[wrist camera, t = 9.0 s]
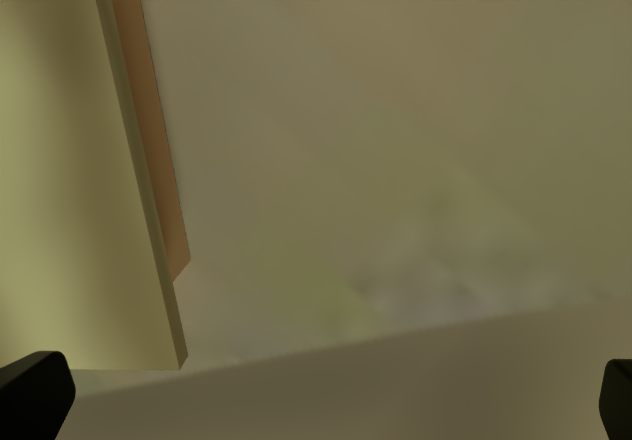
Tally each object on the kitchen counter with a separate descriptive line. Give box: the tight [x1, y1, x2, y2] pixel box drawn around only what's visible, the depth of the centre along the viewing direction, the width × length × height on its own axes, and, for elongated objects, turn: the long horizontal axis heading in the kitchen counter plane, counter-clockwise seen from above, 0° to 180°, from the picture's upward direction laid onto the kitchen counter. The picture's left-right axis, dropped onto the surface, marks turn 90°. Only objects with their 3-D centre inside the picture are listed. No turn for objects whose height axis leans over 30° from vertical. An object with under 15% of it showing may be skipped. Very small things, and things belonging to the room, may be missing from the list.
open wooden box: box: [111, 0, 191, 282], centre depth 17 cm, size 11×11×5 cm
